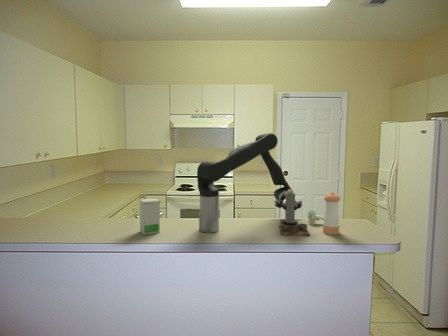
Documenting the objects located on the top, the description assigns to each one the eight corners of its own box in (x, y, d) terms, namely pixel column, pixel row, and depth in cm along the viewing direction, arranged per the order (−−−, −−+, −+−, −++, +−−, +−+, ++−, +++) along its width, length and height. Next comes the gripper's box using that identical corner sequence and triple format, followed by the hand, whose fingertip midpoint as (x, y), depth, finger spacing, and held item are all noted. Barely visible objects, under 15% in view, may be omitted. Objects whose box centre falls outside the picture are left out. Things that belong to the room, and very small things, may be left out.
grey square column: (285, 223, 150) (286, 190, 148) (284, 220, 154) (285, 189, 152) (294, 223, 150) (295, 190, 148) (293, 220, 154) (294, 189, 152)
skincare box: (143, 235, 147) (141, 202, 145) (139, 231, 153) (138, 199, 151) (160, 232, 151) (159, 200, 149) (156, 228, 157) (156, 197, 155)
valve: (308, 225, 162) (332, 226, 161) (308, 212, 162) (333, 213, 160) (306, 221, 169) (330, 222, 167) (307, 209, 168) (330, 210, 166)
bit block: (280, 235, 147) (281, 226, 146) (278, 227, 159) (278, 219, 158) (309, 235, 146) (309, 227, 145) (305, 228, 157) (305, 220, 157)
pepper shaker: (335, 236, 146) (336, 195, 143) (320, 232, 150) (321, 192, 148) (341, 232, 151) (343, 192, 149) (326, 229, 156) (328, 190, 154)
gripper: (272, 192, 165) (275, 200, 148) (300, 193, 164) (306, 200, 147) (272, 206, 166) (275, 215, 149) (300, 207, 165) (306, 216, 148)
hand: (290, 208), depth 148 cm, fingers closed on grey square column, 4 cm apart
